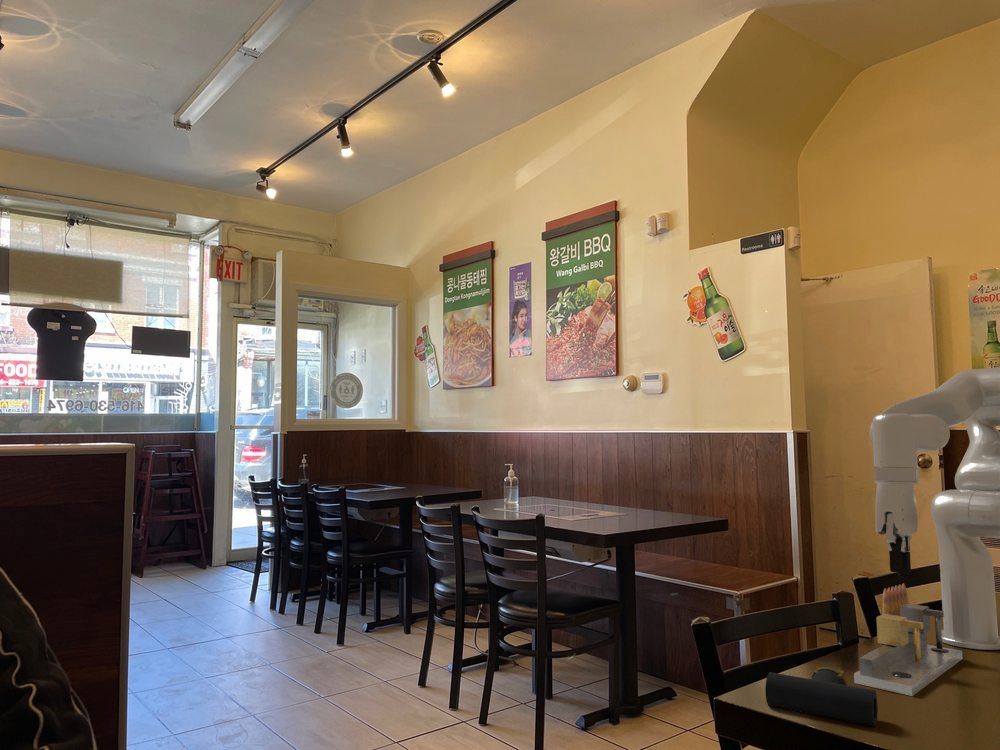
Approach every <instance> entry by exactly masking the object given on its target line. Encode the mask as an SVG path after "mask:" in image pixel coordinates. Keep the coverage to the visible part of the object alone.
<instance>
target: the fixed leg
mask: <svg viewBox="0 0 1000 750" xmlns="http://www.w3.org/2000/svg"><path fill="white" fill-rule="evenodd" d="M900 616H902V617H907V620H909V621H916V622H922V623H923V629H919V630H920V634H925V633H926V634H928V633H929V632H931V622H930V616H931V617H934V626H935V627H934V628H935V640H936V641H935V643H936V645H935V646H937V648H938V649H943V642H942V630H943V629H942V620H941V619H943V617H944V611H943V610H942V611H941V610H938V609H937V610H935V609H930V606H926V605H918V604H913V603H909V604H905V605H902V606H900ZM908 632H913V628H911V627H908Z"/></svg>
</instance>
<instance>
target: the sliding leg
mask: <svg viewBox="0 0 1000 750" xmlns="http://www.w3.org/2000/svg"><path fill="white" fill-rule="evenodd" d="M908 627H911V628H913V636H914V653H915V662H917V663H921V647H920V630H919V629H923V623H922V622H916V621H909V620H907V617H902V616H895V615H889V614H880V615H878V616H876V632H877V633H876V635H877V643H878V644H881V645H882V644H888V645H893V646H899V647H902V646H904V645H906V644H908V643H909V639H908Z"/></svg>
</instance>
